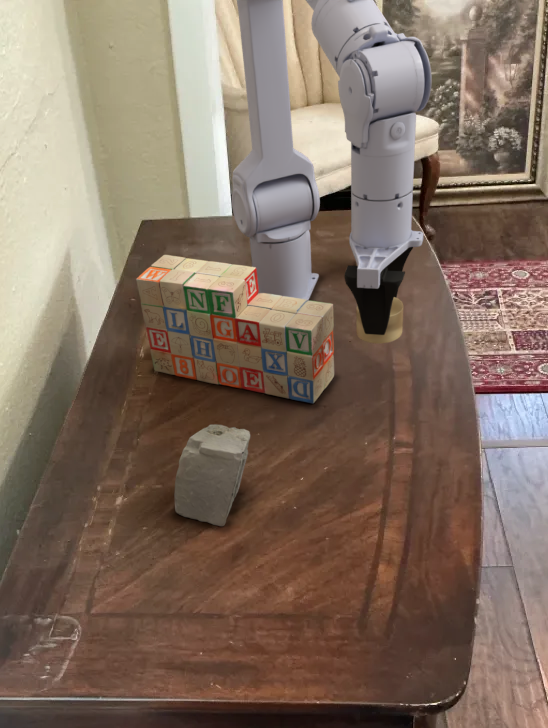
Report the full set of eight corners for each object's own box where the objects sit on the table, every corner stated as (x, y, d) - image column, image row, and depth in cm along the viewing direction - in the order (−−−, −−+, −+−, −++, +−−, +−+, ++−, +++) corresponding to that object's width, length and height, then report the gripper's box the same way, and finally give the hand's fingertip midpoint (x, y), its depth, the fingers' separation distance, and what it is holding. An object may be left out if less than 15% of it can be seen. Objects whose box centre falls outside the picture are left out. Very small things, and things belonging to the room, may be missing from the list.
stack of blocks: (336, 376, 100) (334, 277, 92) (314, 405, 96) (309, 305, 88) (178, 345, 108) (163, 252, 100) (152, 371, 105) (134, 276, 96)
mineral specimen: (257, 527, 81) (231, 461, 76) (177, 528, 85) (147, 465, 80) (278, 476, 86) (255, 411, 81) (201, 479, 90) (174, 417, 85)
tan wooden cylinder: (360, 319, 93) (360, 293, 91) (405, 321, 92) (406, 295, 90) (352, 342, 90) (352, 316, 88) (398, 345, 89) (399, 319, 87)
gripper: (414, 223, 75) (407, 359, 84) (434, 160, 85) (427, 288, 94) (334, 220, 76) (336, 354, 86) (363, 159, 86) (362, 285, 96)
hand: (379, 319), depth 90 cm, fingers closed on tan wooden cylinder, 5 cm apart
